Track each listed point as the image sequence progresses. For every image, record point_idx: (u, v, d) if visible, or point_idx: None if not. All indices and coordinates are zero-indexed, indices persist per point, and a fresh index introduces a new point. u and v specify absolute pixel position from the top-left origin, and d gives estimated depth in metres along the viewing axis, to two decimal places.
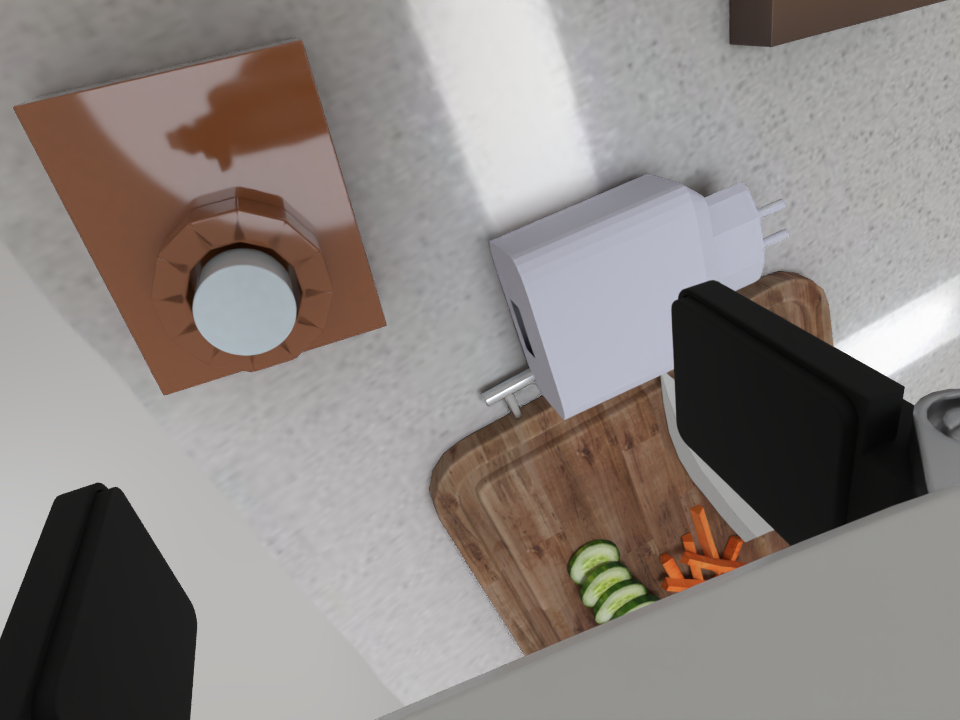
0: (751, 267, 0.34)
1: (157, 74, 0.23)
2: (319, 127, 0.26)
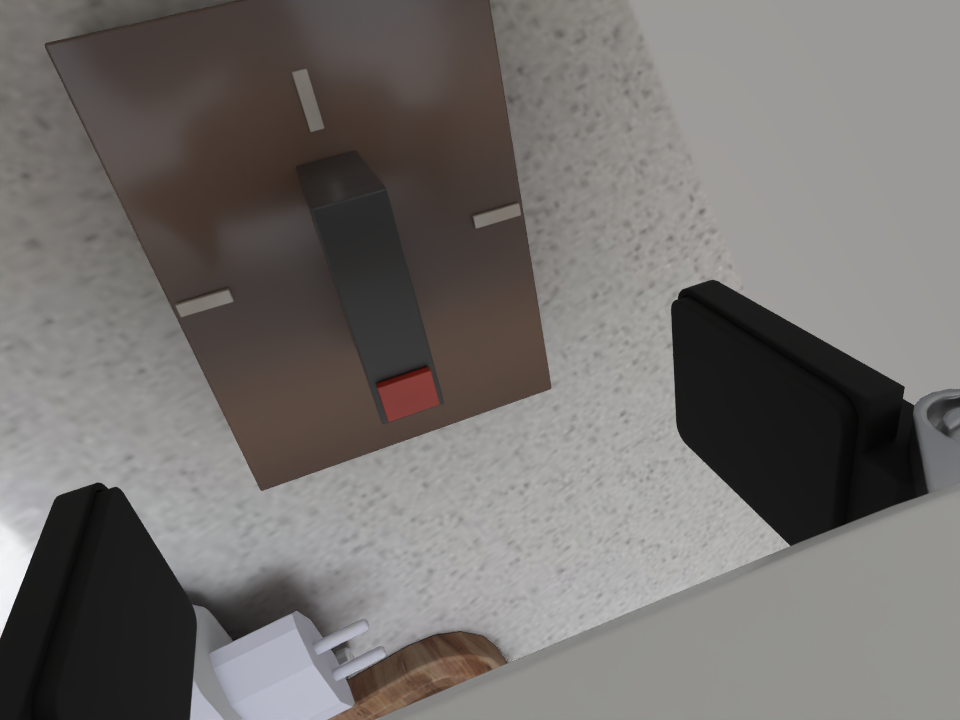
0: (322, 712, 0.25)
1: None
2: None
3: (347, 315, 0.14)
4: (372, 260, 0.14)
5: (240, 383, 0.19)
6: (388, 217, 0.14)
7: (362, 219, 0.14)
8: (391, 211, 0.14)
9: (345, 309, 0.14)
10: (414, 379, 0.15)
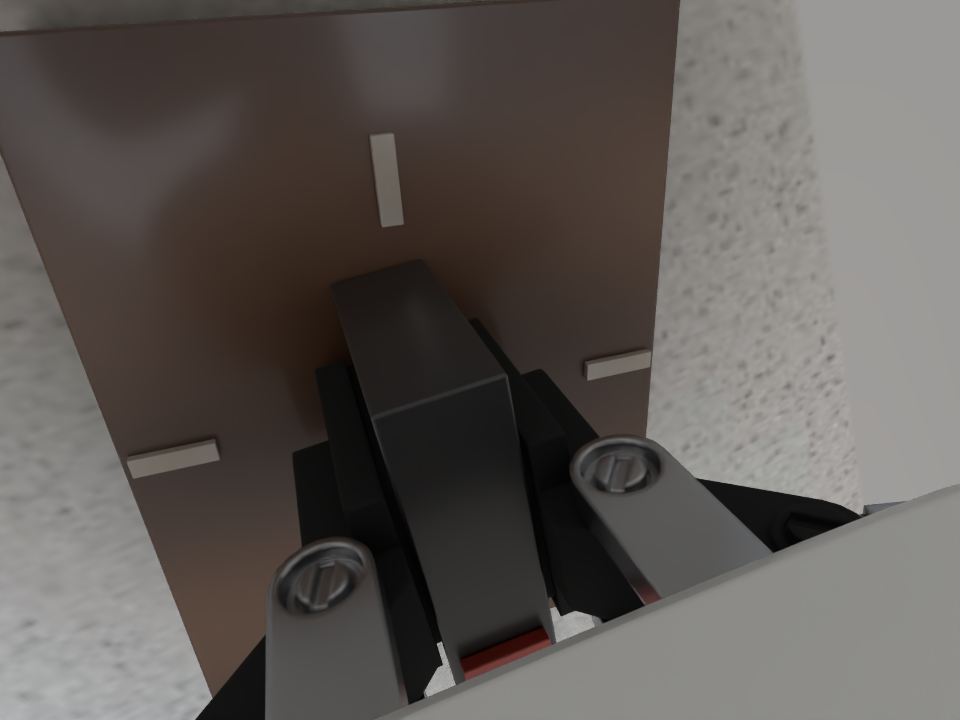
0: None
1: None
2: None
3: (421, 571, 0.08)
4: (470, 488, 0.08)
5: (210, 568, 0.13)
6: (504, 419, 0.08)
7: (459, 427, 0.08)
8: (511, 411, 0.08)
9: (419, 563, 0.08)
10: (523, 654, 0.09)
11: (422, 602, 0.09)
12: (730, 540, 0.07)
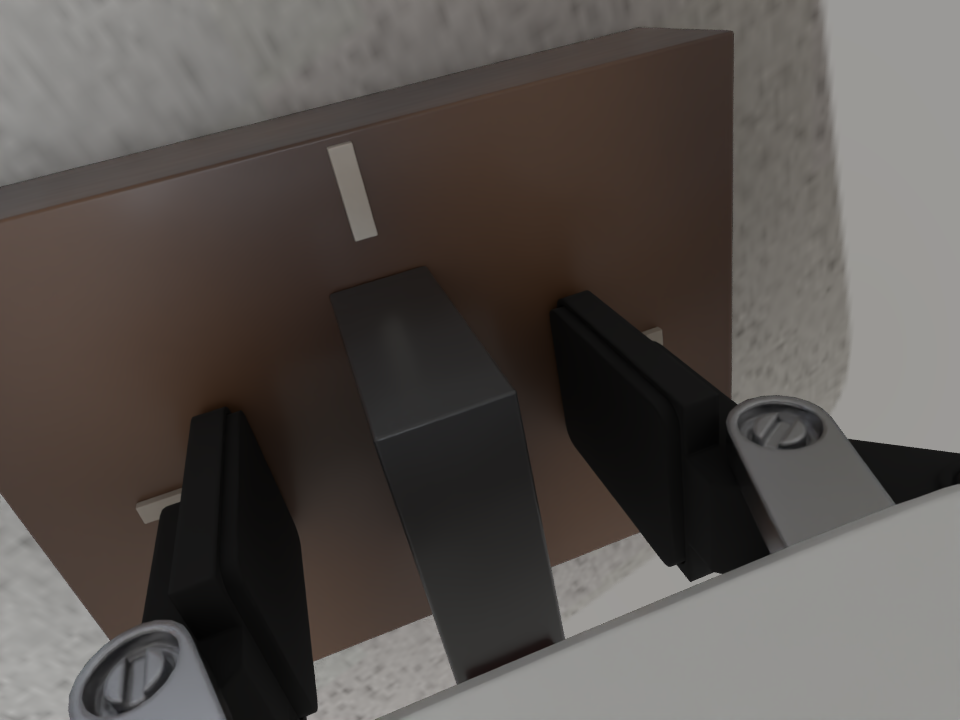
0: None
1: None
2: None
3: (429, 595, 0.08)
4: (479, 509, 0.08)
5: (169, 238, 0.09)
6: (514, 438, 0.07)
7: (467, 447, 0.07)
8: (521, 429, 0.07)
9: (426, 588, 0.08)
10: None
11: (278, 678, 0.08)
12: (874, 513, 0.07)
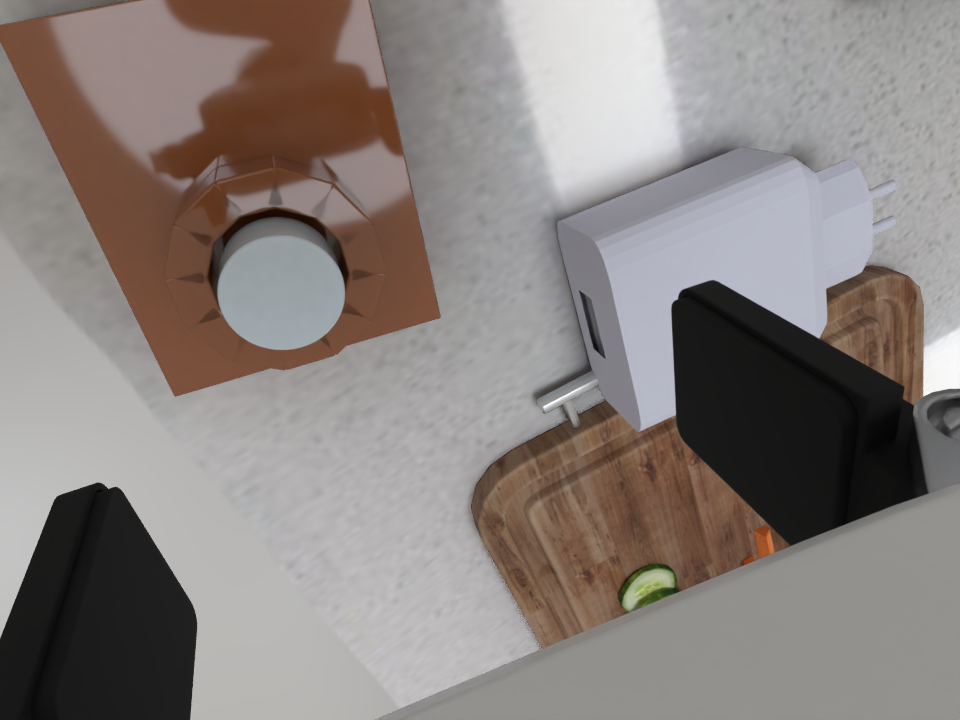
0: (856, 258, 0.29)
1: None
2: (375, 70, 0.21)
3: None
4: None
5: None
6: None
7: None
8: None
9: None
10: None
11: None
12: None
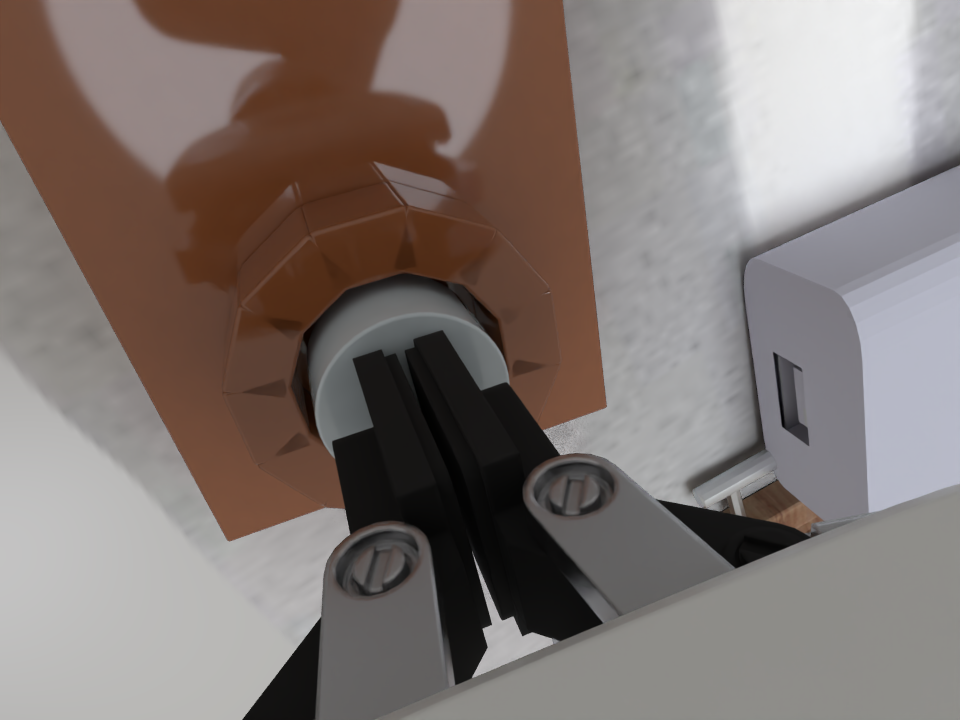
0: None
1: None
2: (552, 42, 0.13)
3: None
4: None
5: None
6: None
7: None
8: None
9: None
10: None
11: None
12: (690, 557, 0.07)
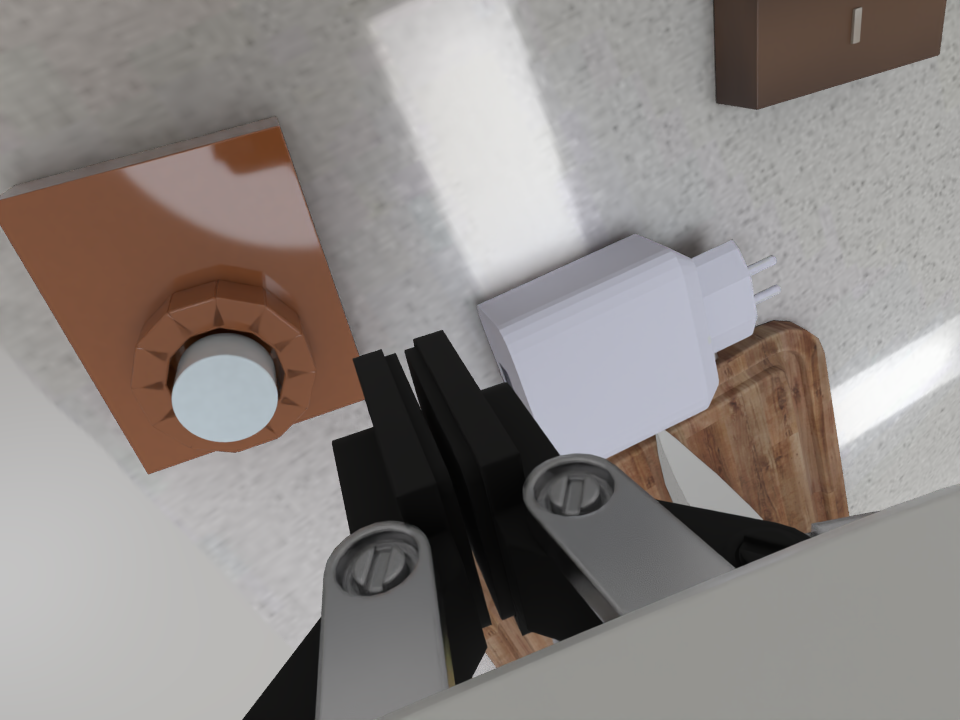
0: (743, 324, 0.34)
1: (133, 165, 0.23)
2: (299, 208, 0.25)
3: None
4: None
5: (773, 9, 0.28)
6: None
7: None
8: None
9: None
10: None
11: None
12: (690, 556, 0.07)
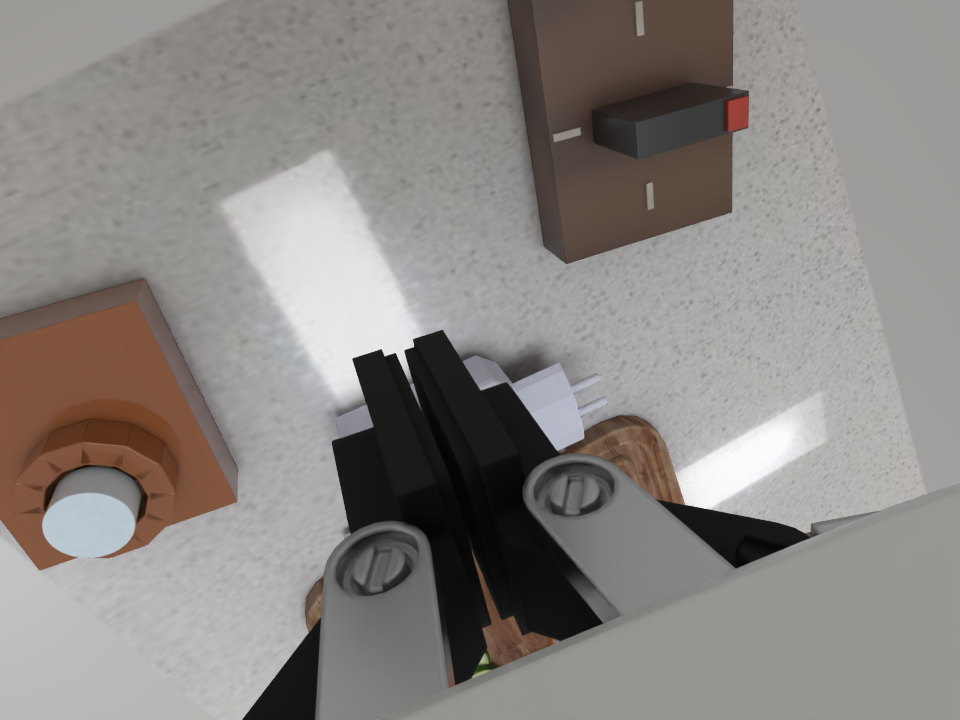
0: (571, 433, 0.39)
1: (11, 337, 0.28)
2: (158, 361, 0.30)
3: (688, 144, 0.29)
4: (666, 131, 0.28)
5: (571, 188, 0.33)
6: (648, 121, 0.28)
7: (647, 135, 0.28)
8: (646, 120, 0.28)
9: (685, 145, 0.29)
10: (730, 111, 0.29)
11: None
12: (690, 557, 0.07)
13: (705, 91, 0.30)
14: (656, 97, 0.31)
